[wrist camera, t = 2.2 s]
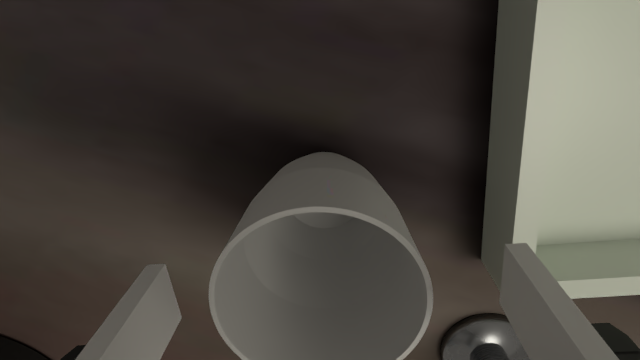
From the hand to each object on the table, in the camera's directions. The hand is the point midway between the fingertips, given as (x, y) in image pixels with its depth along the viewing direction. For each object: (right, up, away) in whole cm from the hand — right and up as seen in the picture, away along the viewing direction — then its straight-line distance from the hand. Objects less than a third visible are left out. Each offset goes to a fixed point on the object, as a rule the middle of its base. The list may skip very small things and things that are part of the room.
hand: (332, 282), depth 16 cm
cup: (0, +3, +8) cm, 9 cm away
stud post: (+11, -8, +12) cm, 18 cm away
